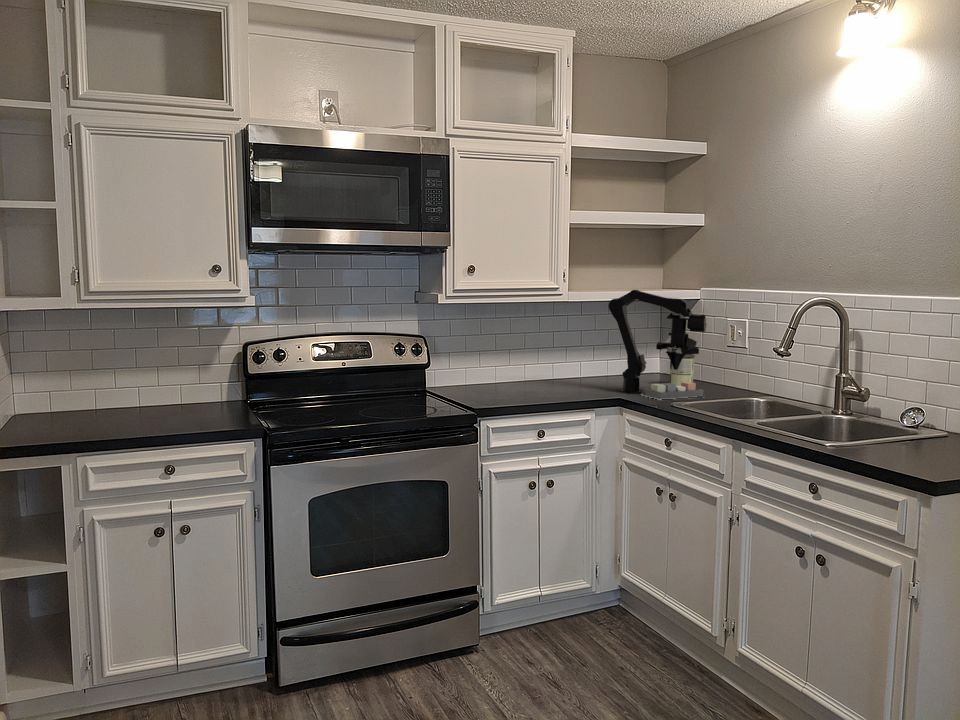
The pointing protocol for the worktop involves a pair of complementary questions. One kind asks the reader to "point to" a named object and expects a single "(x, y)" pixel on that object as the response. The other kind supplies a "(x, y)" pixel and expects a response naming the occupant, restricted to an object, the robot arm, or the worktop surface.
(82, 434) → the worktop surface
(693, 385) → the key
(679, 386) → the key
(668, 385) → the key
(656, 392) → the keypad board
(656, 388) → the key
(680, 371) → the coffee can
